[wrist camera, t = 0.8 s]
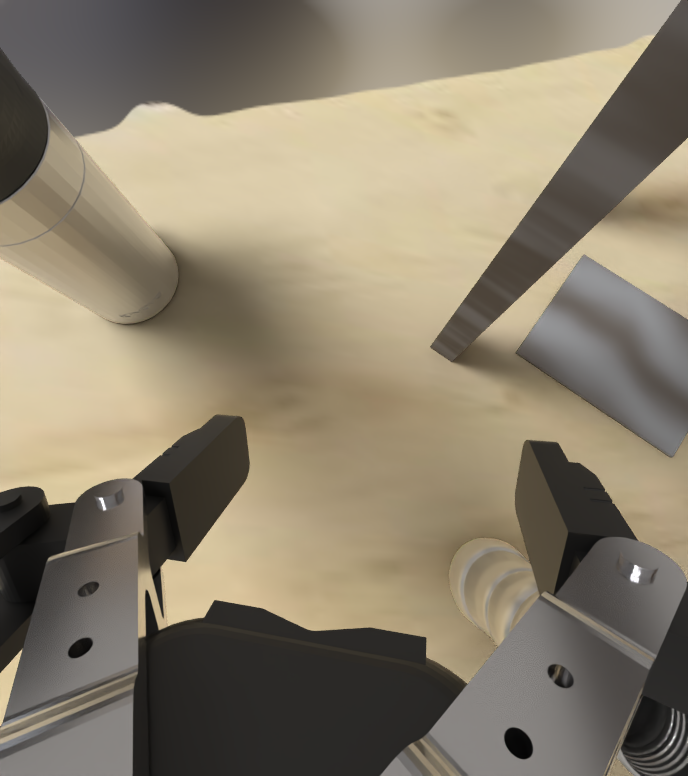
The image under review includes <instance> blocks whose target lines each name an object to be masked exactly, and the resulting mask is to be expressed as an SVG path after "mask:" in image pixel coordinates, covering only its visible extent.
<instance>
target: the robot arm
mask: <svg viewBox="0 0 688 776" xmlns="http://www.w3.org/2000/svg"><path fill="white" fill-rule="evenodd" d="M0 258H1V259H2V260H4V261H6V262H8V263H9V264H11V265H13V266H14V267H16V268H18V269H20V270H21V271H23V272H25V273H27V274H28V275H30V276H32V277H33V278H35V279H37V280H39V281H40V282H42V283H44V284H46V285H47V286H49V287H51V288H52V289H54V290H56V291H58V292H59V293H61V294H63V295H65V296H66V297H68V298H70V299H71V300H73V301H75V302H76V303H78V304H80V305H82V306H83V307H85V308H87V309H89V310H90V311H92V312H94V313H95V314H97V315H99V316H101V317H102V318H104V319H106V320H109V321H112V322H114V323H121V324H132V323H138V322H141V321H145V320H147V319H149V318H151V317H153V316H155V315H156V314H157V313H159V312H160V311H161V310H163V309H164V307H165V306H166V305H167V304H168V303H169V302H170V300H171V298H172V297H173V295H174V293H175V290H176V287H177V284H178V276H179V274H178V266H177V263H176V260H175V257H174V256H173V254H172V253H171V251H170V250H169V248H168V247H167V246H166V245H165V244H164V242H163V241H162V240H161V239H160V238H159V237H158V235H157V234H156V233H155V232H154V231H153V230H152V228H151V227H150V226H149V225H148V223H147V222H146V221H145V220H144V219H143V218H142V216H141V215H140V214H139V213H138V212H137V211H136V209H135V208H134V207H133V206H132V205H131V204H130V202H129V201H128V200H127V199H126V198H125V196H124V195H123V194H122V193H121V192H120V191H119V189H118V188H117V187H116V186H115V185H114V184H113V182H112V181H111V180H110V179H109V178H108V177H107V175H106V174H105V173H104V172H103V171H102V170H101V168H100V167H99V166H98V165H97V164H96V162H95V161H94V160H93V159H92V158H91V157H90V155H89V154H88V153H87V152H86V151H85V150H84V148H83V147H82V146H81V145H80V144H79V143H78V141H77V140H76V139H75V138H74V137H73V136H72V135H71V133H70V132H69V131H68V130H67V129H66V128H65V127H64V125H63V124H62V123H61V122H60V121H59V120H58V119H57V117H56V116H55V115H54V114H53V113H52V111H51V110H50V109H49V108H48V107H47V105H46V104H45V103H44V102H43V101H42V100H41V98H40V97H39V96H38V95H37V94H36V92H35V91H34V90H33V89H32V87H31V86H30V85H29V84H28V83H27V82H26V81H25V79H24V78H23V77H22V76H21V74H20V73H19V72H18V71H17V70H16V68H15V67H14V66H13V64H12V63H11V62H10V60H9V59H8V58H7V56H6V55H5V54H4V52H3V51H2V49H1V48H0ZM249 464H250V462H249V453H248V445H247V437H246V428H245V422H244V420H243V418H242V417H240V416H229V415H215V416H214V417H213V418H212V419H210V420H209V421H208V422H207V423H206V424H205V425H204V426H202V427H201V428H200V429H197V430H195V431H193V432H191V433H189V434H187V435H185V436H183V437H181V438H180V439H179V440H178V441H177V442H176V443H174V444H173V445H172V448H168V449H167V450H166V451H165V452H164V453H163V455H162V456H161V455H160V456H159V457H158V458H157V459H155V460H154V461H153V462H152V463H151V464H149V465H148V466H147V467H146V468H145V469H144V470H142V471H141V472H140V473H139V474H138V475H136V476H135V477H134V478H133V479H115V480H110V481H107V482H104V483H101V484H98V485H96V486H94V487H92V488H90V489H89V490H87V491H86V492H84V493H83V494H82V495H81V496H80V497H79V498H78V499H77V501H76V502H75V503H65V504H55V505H48V502H47V499H46V496H45V494H44V491H43V490H42V489H41V488H38V487H29V486H28V487H19V488H14V489H10V490H7V491H4V492H1V493H0V673H1V672H2V670H3V669H4V668H5V667H6V666H7V665H8V664H9V663H10V662H11V661H12V659H13V658H14V657H15V656H16V655H17V654H18V653H19V652H20V651H21V650H22V648H23V650H22V654H21V657H20V661H19V665H18V668H17V672H16V676H15V679H14V683H13V687H12V690H11V694H10V698H9V702H8V705H7V709H6V713H5V716H4V720H3V723H2V725H1V726H0V776H609V774H610V772H611V769H612V767H613V765H614V762H615V760H616V758H617V755H618V753H619V751H620V748H621V746H622V744H623V741H624V739H625V737H626V734H627V732H628V730H629V727H630V725H631V723H632V720H633V718H634V716H635V713H636V711H637V709H638V706H639V704H640V702H641V699H642V697H643V695H644V696H646V697H648V698H651V699H653V700H655V701H657V702H659V703H662V704H664V705H666V706H668V707H670V708H672V709H675V710H677V711H679V712H681V713H683V714H686V715H688V582H687V579H686V577H685V574H684V573H683V571H682V570H681V568H680V567H679V566H678V565H677V564H676V563H675V562H674V561H673V560H672V559H671V558H669V557H668V556H667V555H665V554H664V553H662V552H661V551H659V550H657V549H655V548H653V547H651V546H649V545H647V544H645V543H642V542H639V541H638V540H637V538H636V537H635V535H634V534H633V532H632V531H631V529H630V528H629V526H628V524H627V523H626V521H625V520H624V518H623V517H622V515H621V514H620V512H619V510H618V509H617V507H616V506H615V504H612V500H611V498H610V496H609V495H608V493H607V492H605V489H604V487H603V486H602V484H601V482H600V481H599V479H598V478H597V476H596V475H595V474H593V473H592V472H591V471H589V470H588V469H587V468H585V467H584V466H583V465H581V464H580V463H572V462H569V461H568V460H567V458H566V456H565V454H564V453H563V451H562V449H561V447H560V446H559V444H558V443H557V442H546V441H533V440H526V441H525V442H524V445H523V449H522V455H521V461H520V467H519V473H518V479H517V485H516V491H515V508H516V514H517V517H518V521H519V524H520V528H521V531H522V535H523V539H524V542H525V546H526V549H527V553H528V556H529V560H530V563H531V567H532V570H533V574H534V577H535V581H536V584H537V588H538V591H539V595H540V596H539V597H538V598H537V600H536V601H535V602H534V603H533V605H532V606H531V607H530V608H529V610H528V611H527V612H526V613H525V614H524V616H523V617H522V618H521V619H520V621H519V622H518V623H517V624H516V626H515V627H514V628H513V629H512V630H511V632H510V633H509V634H508V635H507V637H506V638H505V639H504V640H503V641H502V643H501V644H500V645H499V646H498V648H497V649H496V650H495V651H494V653H493V654H492V655H491V656H490V657H489V659H488V660H487V661H486V662H485V664H484V665H483V666H482V667H481V669H480V670H479V671H478V672H477V673H476V675H475V676H474V677H473V678H472V680H471V681H470V682H469V683H468V684H466V683H465V682H464V681H463V680H462V679H461V678H459V677H458V676H457V675H455V674H454V673H453V672H451V671H450V670H448V669H447V668H445V667H443V666H442V665H440V664H438V663H437V662H435V661H432V660H430V659H428V658H426V637H420V636H415V635H409V634H403V633H398V632H392V631H386V630H381V629H375V628H356V629H341V630H326V631H310V630H307V629H305V628H302V627H300V626H298V625H296V624H294V623H292V622H290V621H288V620H286V619H284V618H281V617H279V616H277V615H275V614H273V613H271V612H269V611H267V610H265V609H262V608H257V607H251V606H245V605H240V604H234V603H228V602H223V601H217V600H214V602H213V604H212V605H211V607H210V609H209V611H208V612H207V614H206V616H205V617H204V618H198V619H192V620H187V621H183V622H180V623H176V624H173V625H170V626H168V624H167V611H166V598H165V586H164V575H163V570H162V565H163V563H164V562H165V561H166V560H167V559H170V560H176V561H183V562H186V561H187V560H188V559H189V557H190V556H191V554H192V553H193V552H194V550H195V549H196V548H197V546H198V545H199V544H200V542H201V541H202V539H203V538H204V537H205V535H206V534H207V533H208V531H209V530H210V529H211V527H212V526H213V525H214V523H215V522H216V520H217V519H218V518H219V516H220V515H221V514H222V512H223V511H224V510H225V508H226V507H227V505H228V504H229V503H230V501H231V500H232V499H233V497H234V496H235V495H236V493H237V492H238V491H239V489H240V488H241V486H242V485H243V484H244V482H245V481H246V479H247V476H248V472H249Z"/></svg>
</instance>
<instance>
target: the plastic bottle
mask: <svg viewBox="0 0 688 776" xmlns="http://www.w3.org/2000/svg"><path fill="white" fill-rule="evenodd" d="M449 583H450V588H451V592H452V595H453V598H454V601H455V603H456V605H457V607H458V609H459V610H460V612H461V613H462V614H463V615H464V616H465V617H466V618H467V619H468V620H469V621H470V622H472V623H473V624H474V625H475V626H476V627H478V628H479V629H481V630H483V631H485V632H486V633H487V634H488V635H489V636H490V637H491V638H492V639H493V640H494V642H495V643H496V645H497V646H499V645H500V644H501V643H502V641H503V640H504V639H505V638H506V637H507V635H508V634H509V633H510V632H511V630H512V629H513V628H514V627H515V626H516V624H517V623H518V622H519V621H520V619H521V618H522V617H523V616H524V614H525V613H526V612H527V611H528V610H529V608H530V607H531V606H532V605H533V603H534V602H535V601H536V600H537V598H538V597H539V596H540V595H539V591H538V588H537V584H536V581H535V577H534V574H533V570H532V567H531V564H530V563H529V562H528V560H527V559H526V558H525V557H524V556H523V555H522V554H521V553H520V552H519V551H518V550H517V549H516V548H514V547H513V546H512V545H510V544H508V543H506V542H505V541H502V540H498V539H493V538H477V539H473V540H471V541H468V542H467V543H465V544H464V545H462V546H461V547H460V548H459V549H458V550H457V552H456V553H455V555H454V557H453V559H452V561H451V564H450V569H449ZM616 759H618V760H619V761H620V762H621V763H622V764H623V765H624V766H625V768H626V769H627V770H628V771H629V772H631V773H632V774H633V775H634V776H688V715H686V714H683V713H681V712H679V711H677V710H675V709H672V708H670V707H668V706H666V705H664V704H662V703H659V702H657V701H655V700H653V699H651V698H648V697H646V696H644V695H643V697H642V699H641V702H640V704H639V706H638V709H637V711H636V713H635V716H634V718H633V720H632V723H631V725H630V727H629V730H628V732H627V734H626V737H625V739H624V741H623V744H622V746H621V748H620V751H619V753H618V755H617V758H616Z"/></svg>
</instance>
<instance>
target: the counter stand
mask: <svg viewBox="0 0 688 776" xmlns="http://www.w3.org/2000/svg"><path fill="white" fill-rule="evenodd" d="M687 138H688V0H681V1H680V3H679V4H678V6H677V7H676V8H675V9H674V11H673V12H672V14H671V15H670V16H669V18H668V19H667V21H666V22H665V23H664V25H663V26H662V27H661V29H660V30H659V32H658V33H657V34H656V36H655V37H654V38H653V40H652V41H651V43H650V44H649V45H648V47H647V48H646V49H645V51H644V52H643V54H642V55H641V56H640V58H639V59H638V61H637V62H636V63H635V65H634V66H633V67H632V69H631V70H630V72H629V73H628V74H627V76H626V77H625V78H624V80H623V81H622V83H621V84H620V85H619V87H618V88H617V90H616V91H615V92H614V94H613V95H612V96H611V98H610V99H609V101H608V102H607V103H606V105H605V106H604V107H603V109H602V110H601V112H600V113H599V114H598V116H597V117H596V119H595V120H594V121H593V123H592V124H591V125H590V127H589V128H588V130H587V131H586V132H585V134H584V135H583V136H582V138H581V139H580V141H579V142H578V143H577V145H576V146H575V147H574V149H573V150H572V152H571V153H570V154H569V156H568V157H567V159H566V160H565V161H564V163H563V164H562V165H561V167H560V168H559V170H558V171H557V172H556V174H555V175H554V176H553V178H552V179H551V181H550V182H549V183H548V185H547V186H546V188H545V189H544V190H543V192H542V193H541V194H540V196H539V197H538V199H537V200H536V201H535V203H534V204H533V205H532V207H531V208H530V210H529V211H528V212H527V214H526V215H525V217H524V218H523V219H522V221H521V222H520V223H519V225H518V226H517V228H516V229H515V230H514V232H513V233H512V234H511V236H510V237H509V239H508V240H507V241H506V243H505V244H504V245H503V247H502V248H501V250H500V251H499V252H498V254H497V255H496V257H495V258H494V259H493V261H492V262H491V263H490V265H489V266H488V268H487V269H486V270H485V272H484V273H483V274H482V276H481V277H480V279H479V280H478V281H477V283H476V284H475V286H474V287H473V288H472V290H471V291H470V292H469V294H468V295H467V297H466V298H465V299H464V301H463V302H462V303H461V305H460V306H459V308H458V309H457V310H456V312H455V313H454V315H453V316H452V317H451V319H450V320H449V321H448V323H447V324H446V326H445V327H444V328H443V330H442V331H441V332H440V334H439V335H438V337H437V338H436V339H435V341H434V342H433V343H432V345H431V346H430V347H431V348H432V349H434V350H435V351H436V352H438V353H439V354H441V355H442V356H444V357H445V358H447V359H448V360H450V361H451V362H452V361H453V360H454V359H455V358H456V357H457V356H458V355H459V354H460V353H461V352H462V351H463V350H464V349H466V348H467V347H468V346H469V345H470V344H471V343H472V342H473V341H474V340H475V339H476V338H477V337H478V336H479V335H480V334H481V333H482V332H483V331H485V330H486V329H487V328H488V327H489V326H490V325H491V324H492V323H493V322H494V321H495V320H496V319H497V318H498V317H499V316H500V315H501V314H502V313H504V312H505V311H506V310H507V309H508V308H509V307H510V306H511V305H512V304H513V303H514V302H515V301H516V300H517V299H518V298H519V297H520V296H521V295H522V294H524V293H525V292H526V291H527V290H528V289H529V288H530V287H531V286H532V285H533V284H534V283H535V282H536V281H537V280H538V279H539V278H540V277H541V276H543V275H544V274H545V273H546V272H547V271H548V270H549V269H550V268H551V267H552V266H553V265H554V264H555V263H556V262H557V261H558V260H559V259H560V258H562V257H563V256H564V255H565V254H566V253H567V252H568V251H569V250H570V249H571V248H572V247H573V246H574V245H575V244H576V243H577V242H578V241H579V240H580V239H582V238H583V237H584V236H585V235H586V234H587V233H588V232H589V231H590V230H591V229H592V228H593V227H594V226H595V225H596V224H597V223H598V222H599V221H601V220H602V219H603V218H604V217H605V216H606V215H607V214H608V213H609V212H610V211H611V210H612V209H613V208H614V207H615V206H616V205H617V204H618V203H619V202H621V201H622V200H623V199H624V198H625V197H626V196H627V195H628V194H629V193H630V192H631V191H632V190H633V189H634V188H635V187H636V186H637V185H638V184H640V183H641V182H642V181H643V180H644V179H645V178H646V177H647V176H648V175H649V174H650V173H651V172H652V171H653V170H654V169H655V168H656V167H657V166H659V165H660V164H661V163H662V162H663V161H664V160H665V159H666V158H667V157H668V156H669V155H670V154H671V153H672V152H673V151H674V150H675V149H676V148H677V147H679V146H680V145H681V144H682V143H683V142H684V141H685V140H686V139H687ZM516 354H518V355H519V356H521V357H522V358H524V359H525V360H527V361H528V362H529V363H531V364H532V365H534V366H535V367H537V368H538V369H540V370H541V371H543V372H544V373H546V374H547V375H549V376H550V377H552V378H553V379H555V380H556V381H558V382H559V383H561V384H562V385H564V386H565V387H567V388H568V389H570V390H571V391H572V392H574V393H575V394H577V395H578V396H580V397H581V398H583V399H584V400H586V401H587V402H589V403H590V404H592V405H593V406H595V407H596V408H598V409H599V410H601V411H602V412H604V413H605V414H607V415H608V416H610V417H611V418H613V419H614V420H615V421H617V422H618V423H620V424H621V425H623V426H624V427H626V428H627V429H629V430H630V431H632V432H633V433H635V434H636V435H638V436H639V437H641V438H642V439H644V440H645V441H647V442H648V443H650V444H651V445H653V446H654V447H655V448H657V449H658V450H660V451H661V452H663V453H664V454H666V455H667V456H669V457H673V456H674V454H675V453H676V451H677V449H678V448H679V446H680V444H681V443H682V441H683V439H684V437H685V436H686V434H687V432H688V319H686V318H684V317H683V316H681V315H680V314H678V313H676V312H675V311H673V310H672V309H670V308H668V307H667V306H665V305H664V304H662V303H661V302H659V301H657V300H656V299H654V298H653V297H651V296H649V295H648V294H646V293H645V292H643V291H641V290H640V289H638V288H637V287H635V286H633V285H632V284H630V283H629V282H627V281H625V280H624V279H622V278H621V277H619V276H618V275H616V274H614V273H613V272H611V271H610V270H608V269H606V268H605V267H603V266H602V265H600V264H598V263H597V262H595V261H594V260H592V259H590V258H589V257H587V256H586V255H583V256H582V257H581V259H580V260H579V262H578V263H577V264H576V266H575V267H574V269H573V270H572V272H571V273H570V275H569V276H568V278H567V279H566V280H565V282H564V283H563V285H562V286H561V288H560V289H559V291H558V292H557V294H556V295H555V296H554V298H553V299H552V301H551V302H550V304H549V305H548V307H547V308H546V310H545V311H544V312H543V314H542V315H541V317H540V318H539V320H538V321H537V323H536V324H535V326H534V327H533V328H532V330H531V331H530V333H529V334H528V336H527V337H526V339H525V340H524V341H523V343H522V344H521V346H520V347H519V349H518V350H517V352H516Z"/></svg>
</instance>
